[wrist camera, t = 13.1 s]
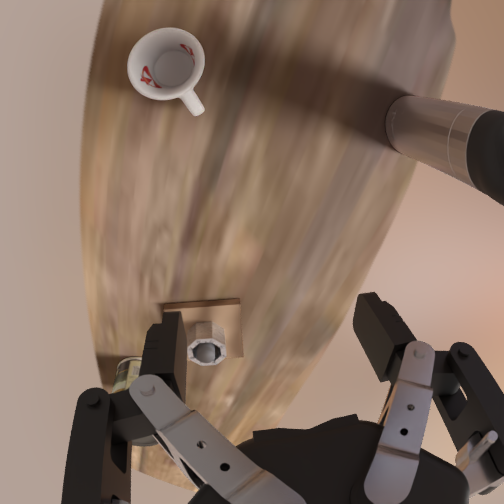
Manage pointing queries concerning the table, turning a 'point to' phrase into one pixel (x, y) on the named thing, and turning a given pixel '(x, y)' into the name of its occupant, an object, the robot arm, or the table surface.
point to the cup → (168, 66)
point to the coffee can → (123, 380)
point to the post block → (219, 313)
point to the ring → (206, 341)
